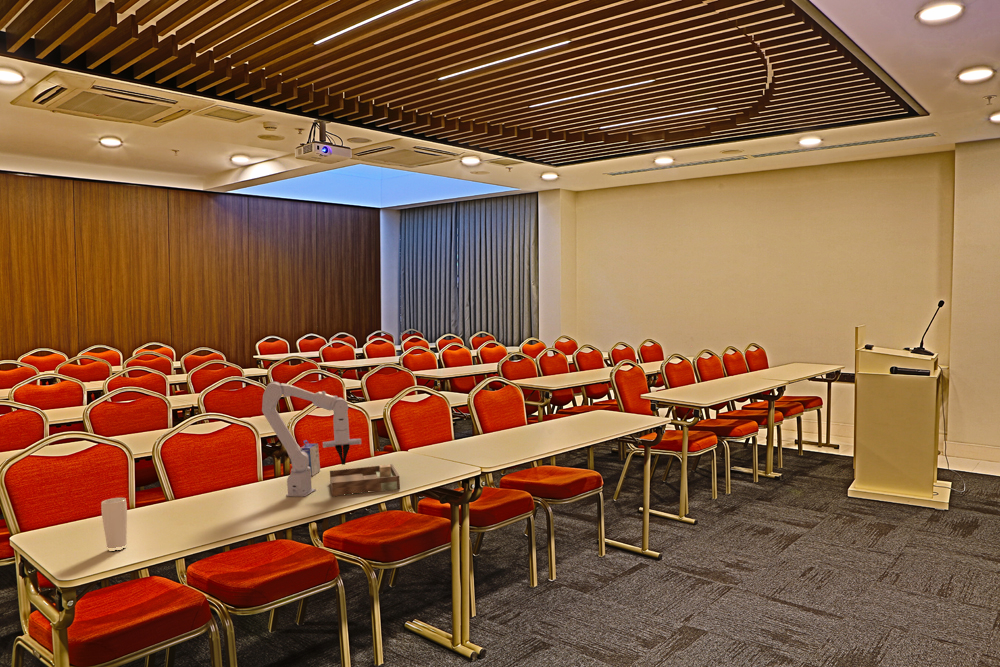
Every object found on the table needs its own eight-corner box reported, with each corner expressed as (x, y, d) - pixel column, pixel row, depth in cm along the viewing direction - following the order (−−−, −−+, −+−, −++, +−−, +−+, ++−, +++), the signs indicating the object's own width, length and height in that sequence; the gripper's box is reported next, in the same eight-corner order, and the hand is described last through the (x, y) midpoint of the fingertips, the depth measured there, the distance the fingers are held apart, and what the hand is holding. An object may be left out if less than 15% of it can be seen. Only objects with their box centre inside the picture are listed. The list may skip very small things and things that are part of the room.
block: (380, 477, 283) (380, 467, 282) (379, 475, 286) (379, 465, 286) (391, 476, 284) (390, 466, 284) (390, 474, 288) (389, 464, 287)
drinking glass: (129, 544, 224) (126, 496, 223) (129, 550, 218) (126, 501, 217) (104, 548, 221) (101, 499, 220) (104, 554, 215) (100, 504, 214)
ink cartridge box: (308, 471, 314) (306, 438, 313) (320, 471, 313) (318, 437, 313) (299, 476, 304) (297, 442, 303) (312, 476, 303) (310, 442, 303)
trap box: (332, 496, 269) (332, 483, 269) (330, 483, 290) (329, 470, 290) (399, 488, 276) (399, 475, 276) (392, 476, 297) (392, 464, 297)
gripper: (359, 426, 286) (361, 460, 286) (321, 429, 282) (323, 464, 283) (361, 428, 279) (363, 463, 280) (322, 432, 275) (324, 467, 276)
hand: (343, 464), depth 281 cm, fingers closed
